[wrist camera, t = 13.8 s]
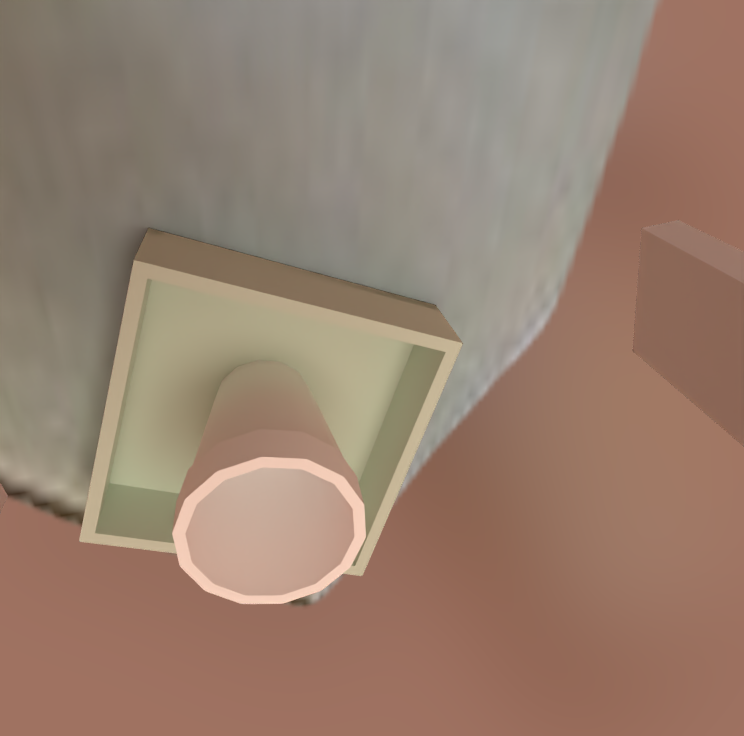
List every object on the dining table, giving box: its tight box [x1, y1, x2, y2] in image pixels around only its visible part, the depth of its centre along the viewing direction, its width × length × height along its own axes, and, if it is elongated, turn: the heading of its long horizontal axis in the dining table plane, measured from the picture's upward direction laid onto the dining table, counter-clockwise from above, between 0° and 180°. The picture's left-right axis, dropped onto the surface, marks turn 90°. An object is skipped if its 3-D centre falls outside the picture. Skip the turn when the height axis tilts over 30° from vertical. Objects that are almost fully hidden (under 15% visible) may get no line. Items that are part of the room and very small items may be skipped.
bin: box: [79, 228, 463, 576], centre depth 41 cm, size 19×19×6 cm
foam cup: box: [172, 360, 366, 604], centre depth 37 cm, size 10×9×13 cm
